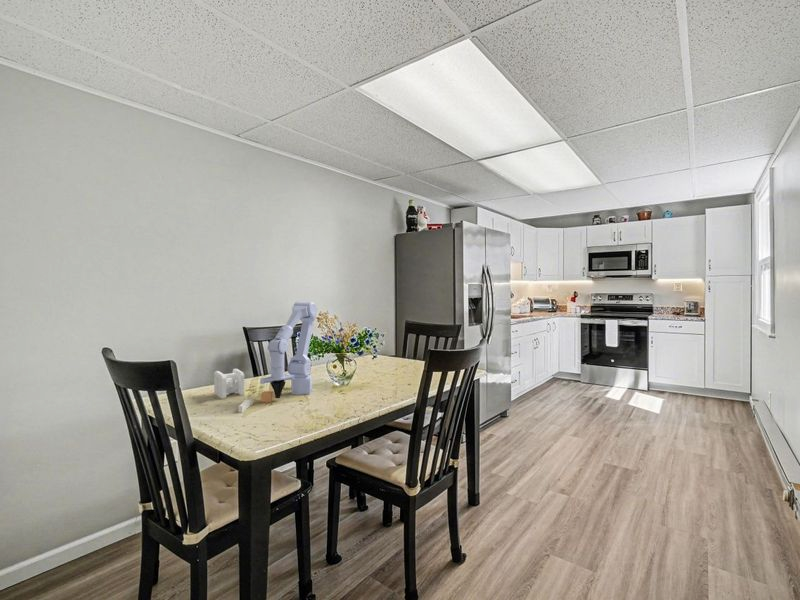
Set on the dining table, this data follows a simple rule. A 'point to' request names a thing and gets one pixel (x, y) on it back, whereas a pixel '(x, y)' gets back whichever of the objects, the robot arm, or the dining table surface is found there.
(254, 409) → the dining table surface
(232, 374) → the cable organizer
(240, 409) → the bar
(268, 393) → the plug block
